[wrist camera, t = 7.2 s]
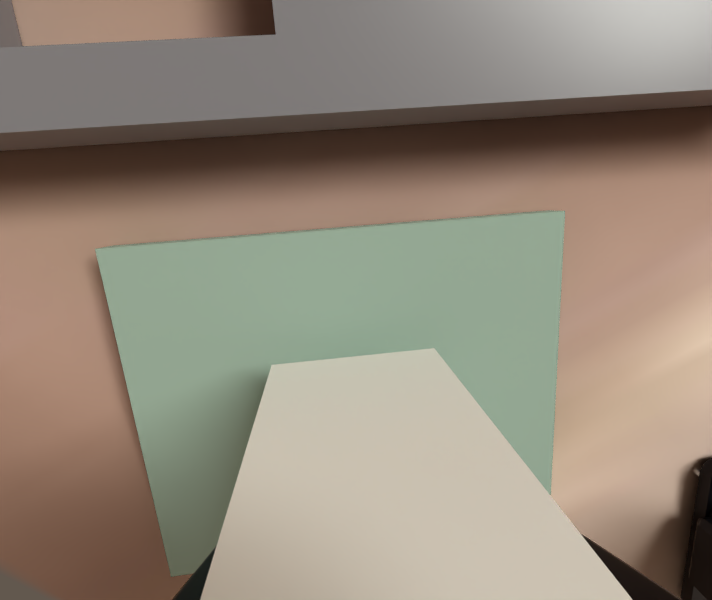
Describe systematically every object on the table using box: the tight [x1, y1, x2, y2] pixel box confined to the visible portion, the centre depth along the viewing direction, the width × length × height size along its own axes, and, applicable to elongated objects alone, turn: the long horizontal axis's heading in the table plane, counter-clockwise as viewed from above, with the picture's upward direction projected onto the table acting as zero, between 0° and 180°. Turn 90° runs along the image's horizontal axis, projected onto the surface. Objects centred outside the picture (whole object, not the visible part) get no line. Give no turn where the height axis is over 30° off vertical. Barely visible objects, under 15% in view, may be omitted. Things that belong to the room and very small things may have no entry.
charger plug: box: [200, 348, 632, 600], centre depth 6 cm, size 4×4×8 cm
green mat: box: [95, 210, 565, 577], centre depth 12 cm, size 12×10×1 cm
